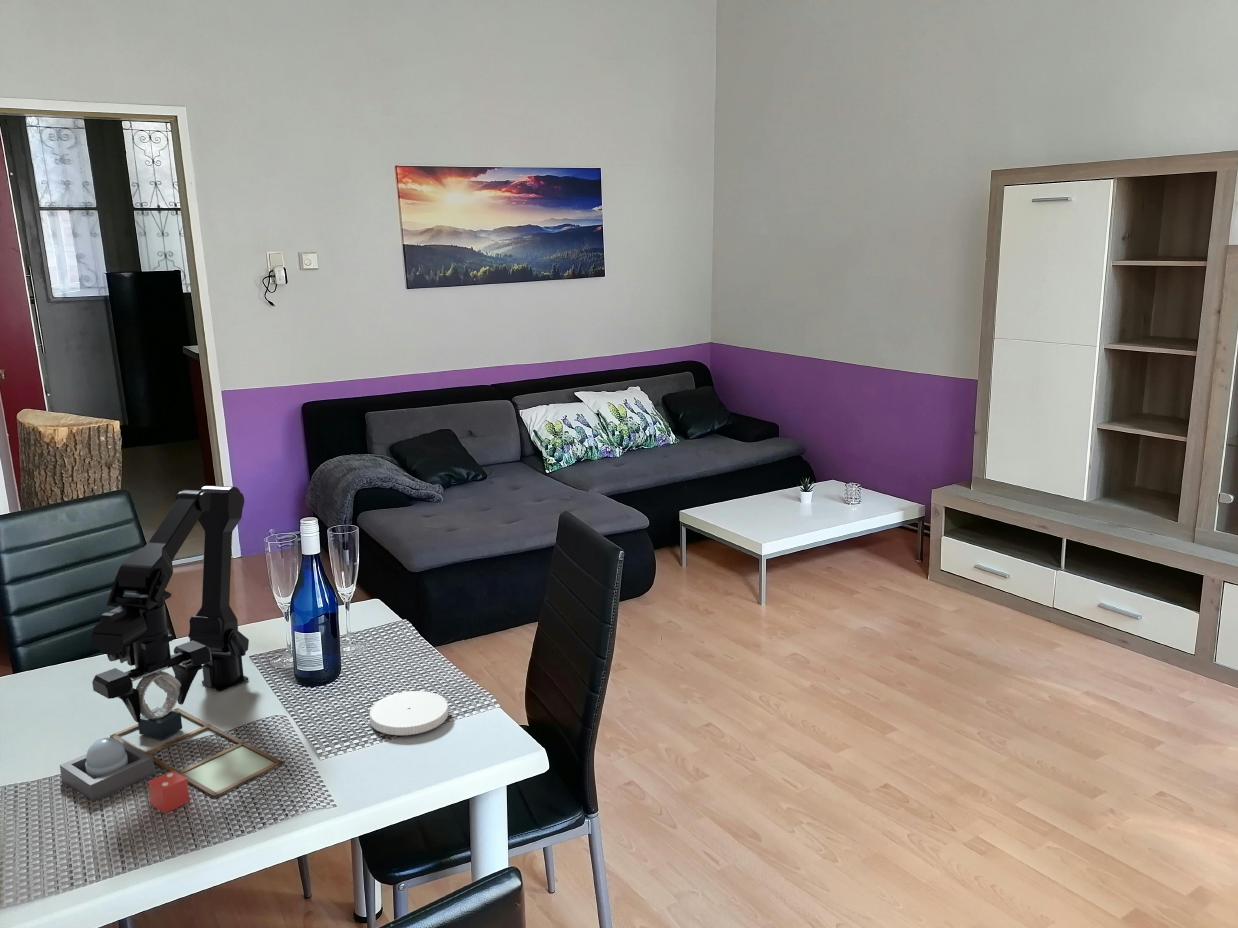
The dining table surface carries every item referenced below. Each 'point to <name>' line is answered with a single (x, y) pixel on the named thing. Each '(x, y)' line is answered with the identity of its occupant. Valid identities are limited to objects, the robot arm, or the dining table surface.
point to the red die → (169, 791)
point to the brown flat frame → (216, 761)
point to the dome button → (105, 757)
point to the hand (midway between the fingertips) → (159, 712)
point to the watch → (159, 719)
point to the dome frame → (111, 782)
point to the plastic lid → (408, 713)
